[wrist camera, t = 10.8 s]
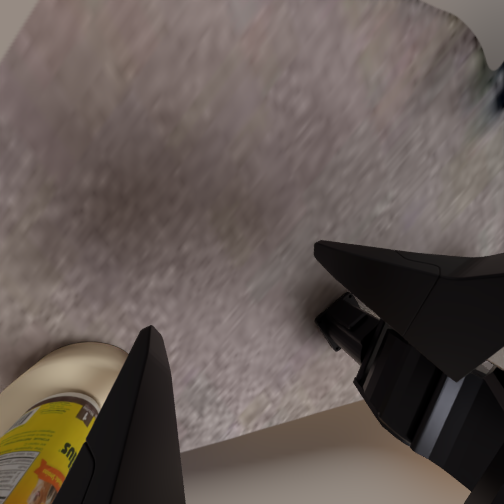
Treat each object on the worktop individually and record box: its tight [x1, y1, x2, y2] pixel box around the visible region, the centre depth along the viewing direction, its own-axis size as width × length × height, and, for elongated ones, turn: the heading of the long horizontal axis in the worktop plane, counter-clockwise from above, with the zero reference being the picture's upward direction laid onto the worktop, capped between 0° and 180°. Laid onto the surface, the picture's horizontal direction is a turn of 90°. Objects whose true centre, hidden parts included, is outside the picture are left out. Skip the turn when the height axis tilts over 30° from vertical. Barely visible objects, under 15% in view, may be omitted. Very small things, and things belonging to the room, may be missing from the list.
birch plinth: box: [0, 342, 129, 438], centre depth 17 cm, size 10×10×3 cm
